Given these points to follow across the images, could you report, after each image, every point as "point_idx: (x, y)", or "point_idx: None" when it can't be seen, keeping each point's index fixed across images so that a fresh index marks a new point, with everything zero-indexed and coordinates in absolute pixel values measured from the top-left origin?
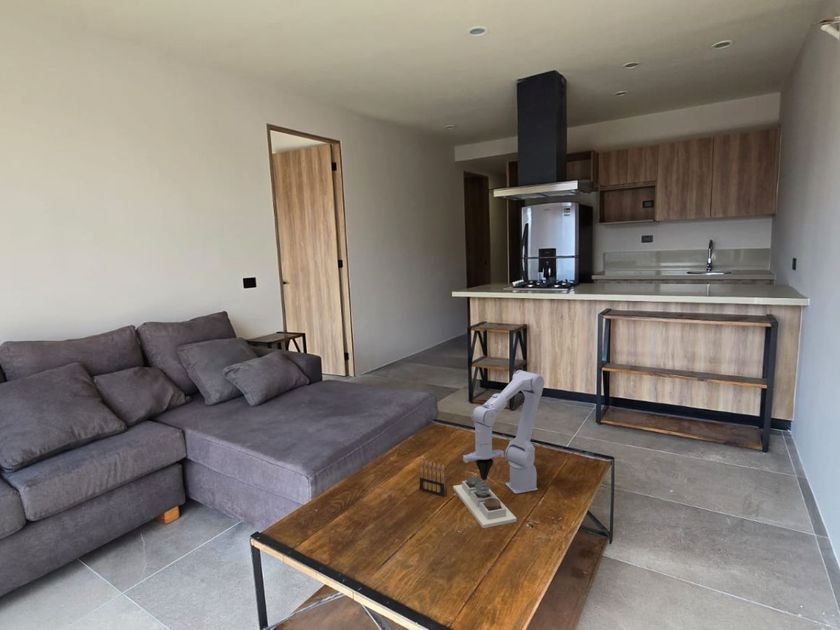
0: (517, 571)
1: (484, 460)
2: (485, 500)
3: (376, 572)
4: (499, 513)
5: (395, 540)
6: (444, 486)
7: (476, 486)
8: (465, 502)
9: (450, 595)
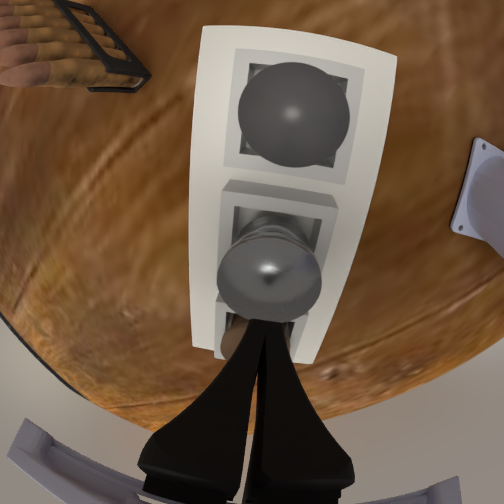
0: None
1: (249, 490)
2: (232, 333)
3: (13, 317)
4: None
5: (13, 267)
6: (107, 86)
7: (218, 283)
8: (189, 202)
9: (100, 394)
